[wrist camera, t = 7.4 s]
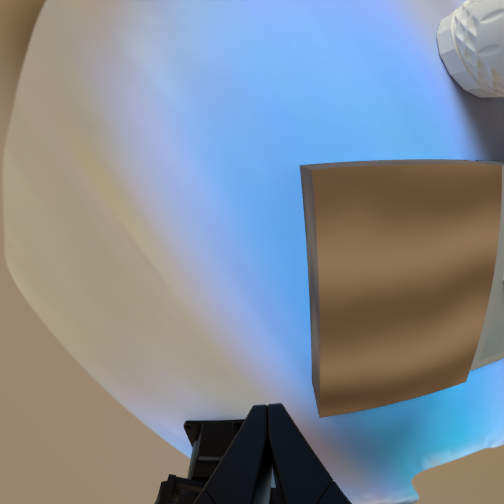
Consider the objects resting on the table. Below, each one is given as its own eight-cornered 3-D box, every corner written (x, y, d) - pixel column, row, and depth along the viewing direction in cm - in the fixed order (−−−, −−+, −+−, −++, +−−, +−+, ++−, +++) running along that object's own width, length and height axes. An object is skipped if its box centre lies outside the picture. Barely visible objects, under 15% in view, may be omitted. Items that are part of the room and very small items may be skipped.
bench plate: (444, 353, 22) (465, 381, 18) (311, 381, 23) (319, 417, 19) (465, 160, 17) (501, 165, 13) (299, 165, 18) (311, 169, 14)
